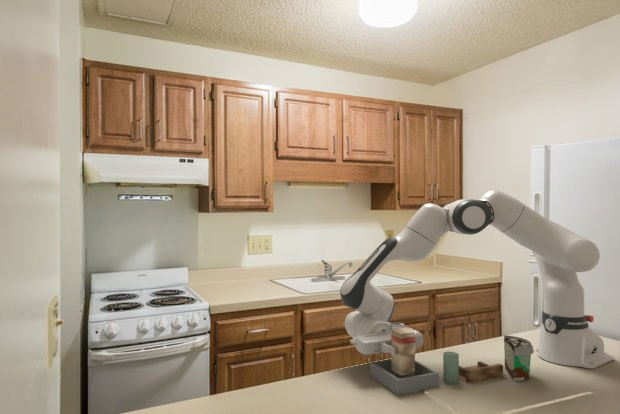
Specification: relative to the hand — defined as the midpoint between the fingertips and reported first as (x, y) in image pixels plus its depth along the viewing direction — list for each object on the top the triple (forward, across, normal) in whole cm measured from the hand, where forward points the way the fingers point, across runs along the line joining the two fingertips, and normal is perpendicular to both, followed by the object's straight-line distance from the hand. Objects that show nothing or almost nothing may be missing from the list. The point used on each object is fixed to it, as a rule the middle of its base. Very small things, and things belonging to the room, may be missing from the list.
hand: (405, 350), depth 115 cm
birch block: (-1, 0, +6) cm, 6 cm away
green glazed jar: (+5, +11, +9) cm, 15 cm away
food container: (+9, +32, +9) cm, 35 cm away
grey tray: (-1, 0, +9) cm, 9 cm away
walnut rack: (+3, +21, +9) cm, 23 cm away
